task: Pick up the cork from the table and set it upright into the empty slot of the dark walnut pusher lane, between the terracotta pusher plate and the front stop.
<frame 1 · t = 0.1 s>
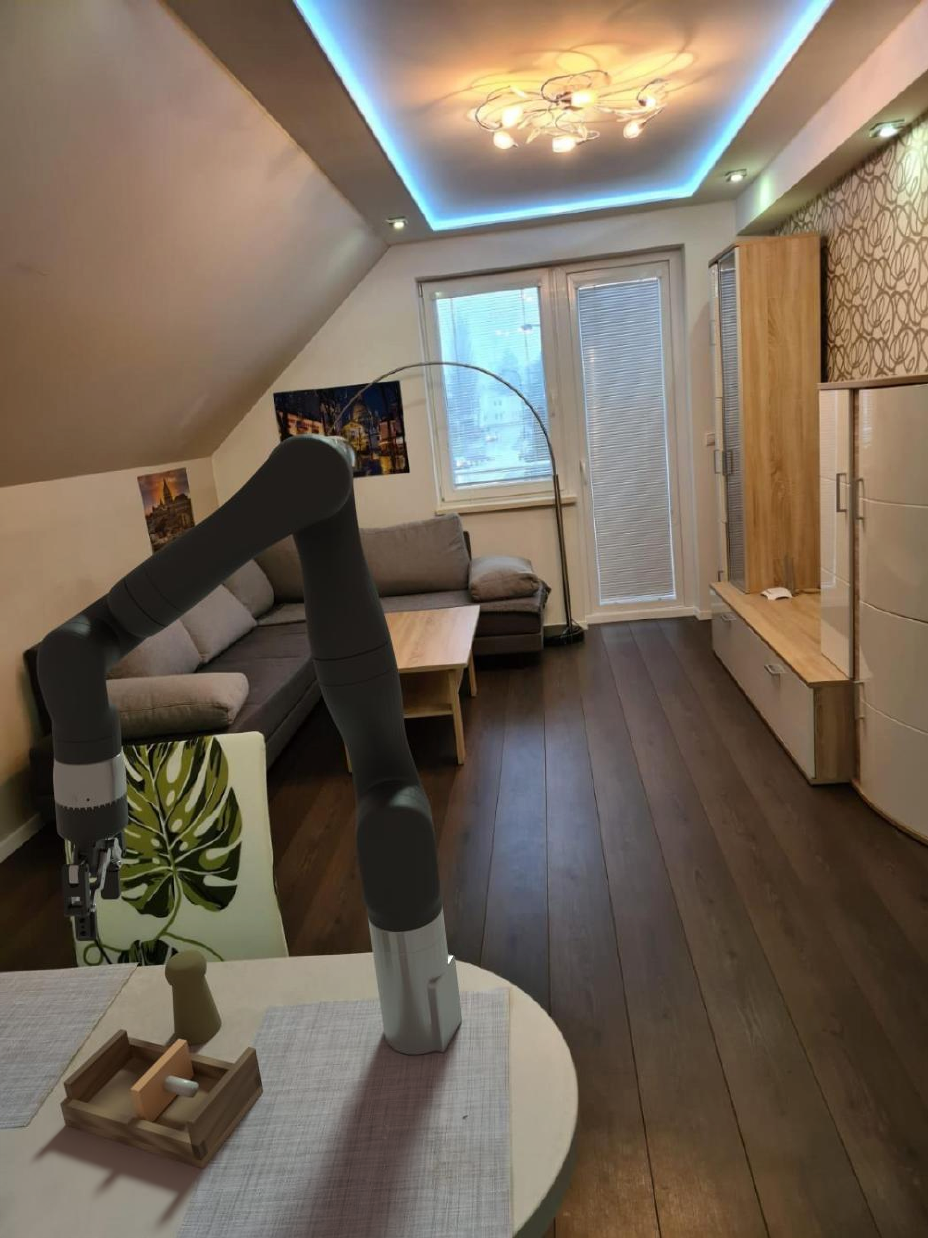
hand: (99, 917, 99), 22 cm above the table, tool pointing down, fingers open, 8 cm apart
lane: (165, 1108, 99), on the table
pusher: (176, 1085, 97), point 4 cm above the table, slide at 0.0 cm
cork: (198, 1030, 112), on the table
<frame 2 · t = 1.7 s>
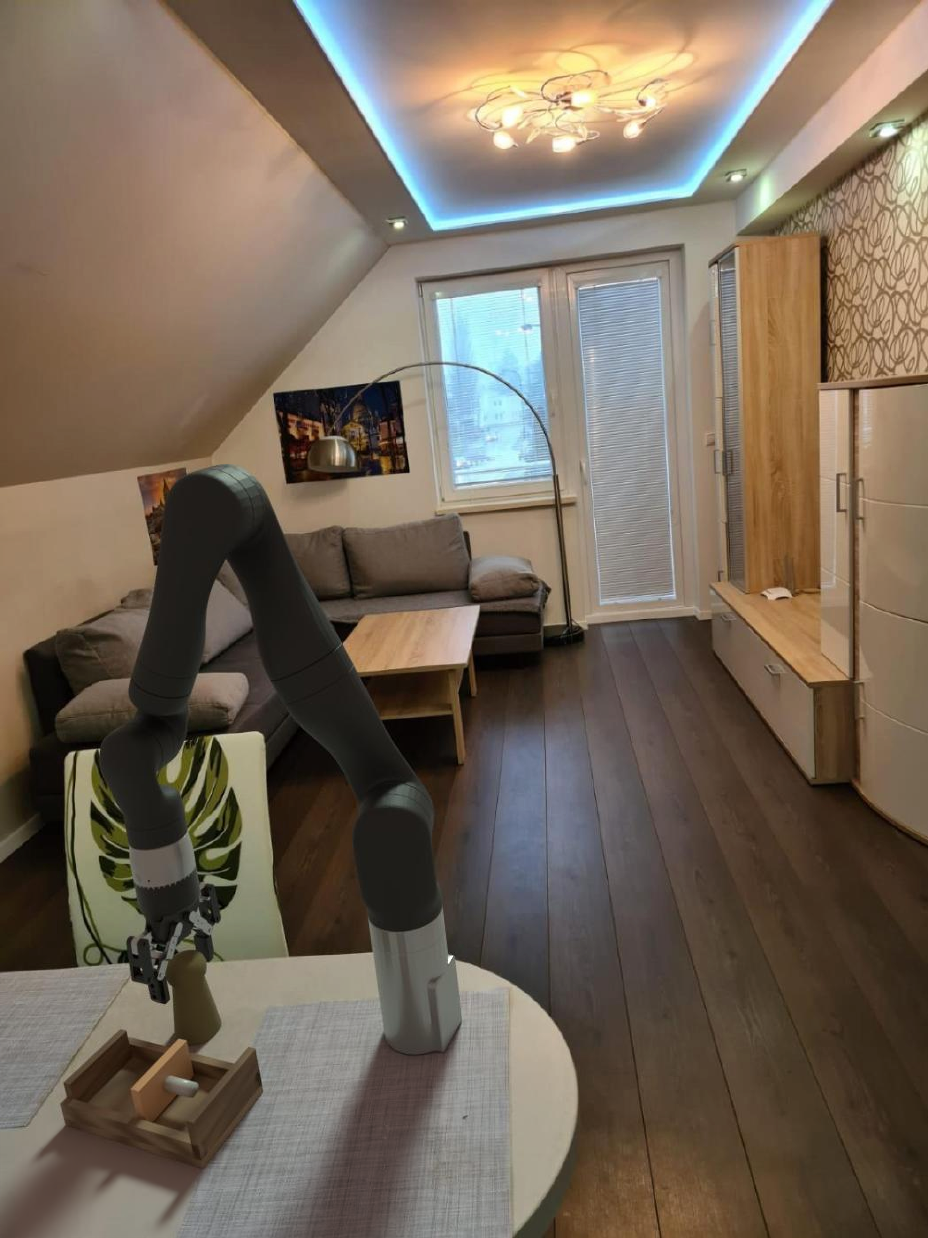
hand: (184, 980, 110), 8 cm above the table, tool pointing down, fingers open, 8 cm apart
nothing on the table moved.
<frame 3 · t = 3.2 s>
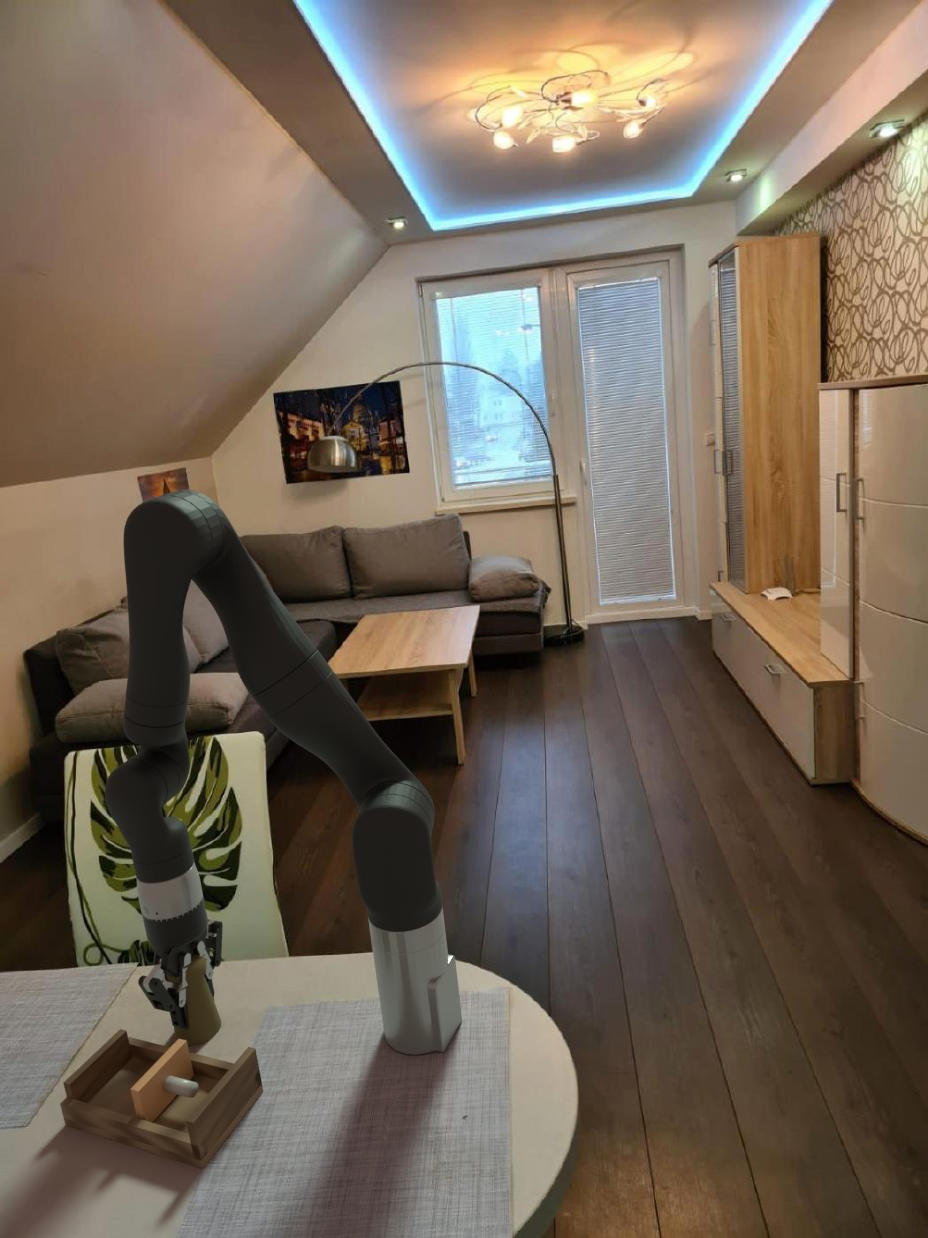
hand: (195, 1014, 111), 2 cm above the table, tool pointing down, fingers closed on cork, 4 cm apart
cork: (198, 1030, 112), on the table, touching gripper
everything else where it was.
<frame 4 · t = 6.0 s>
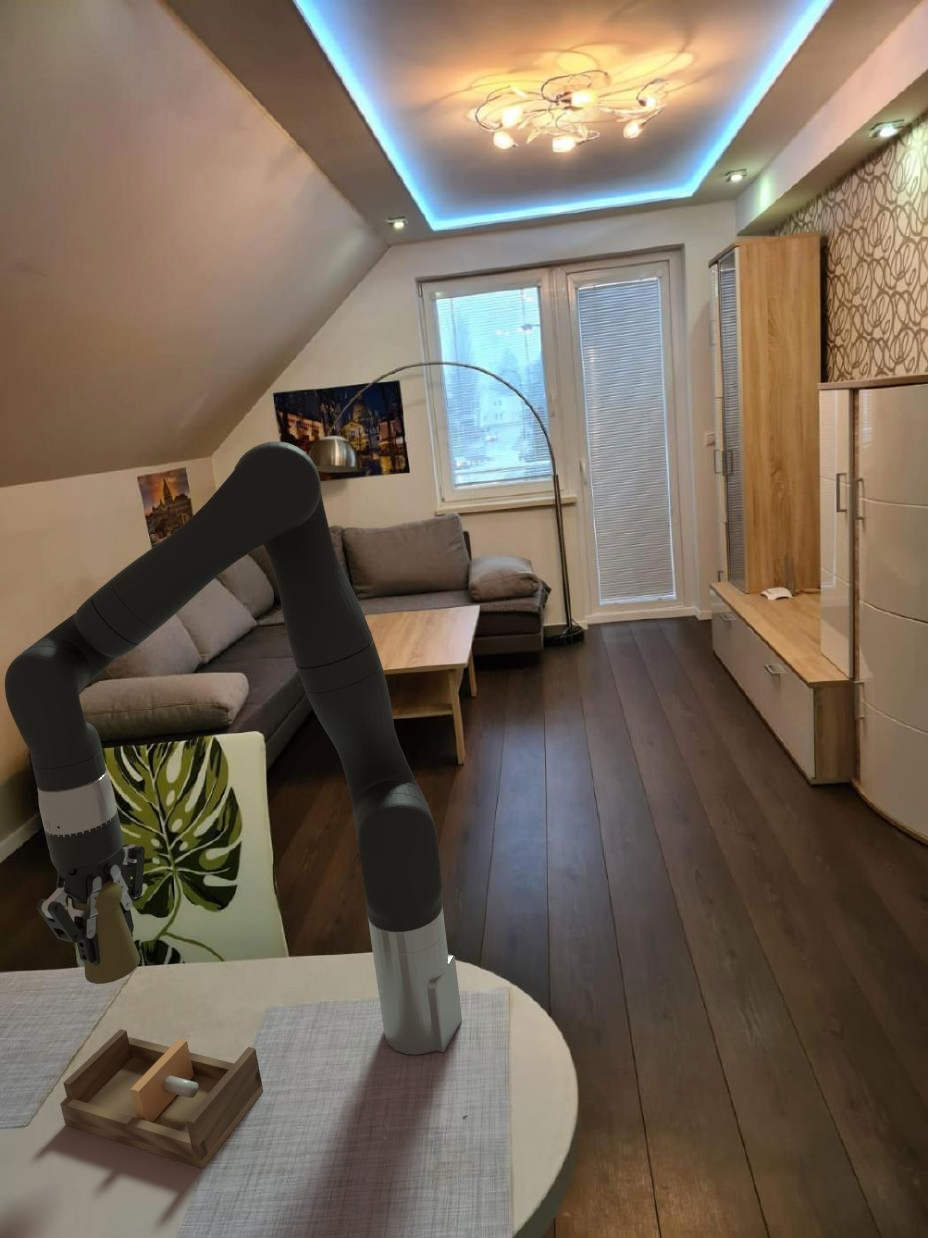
hand: (109, 949, 97), 20 cm above the table, tool pointing down, fingers closed on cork, 4 cm apart
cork: (113, 968, 98), point 17 cm above the table, touching gripper
everything else where it was.
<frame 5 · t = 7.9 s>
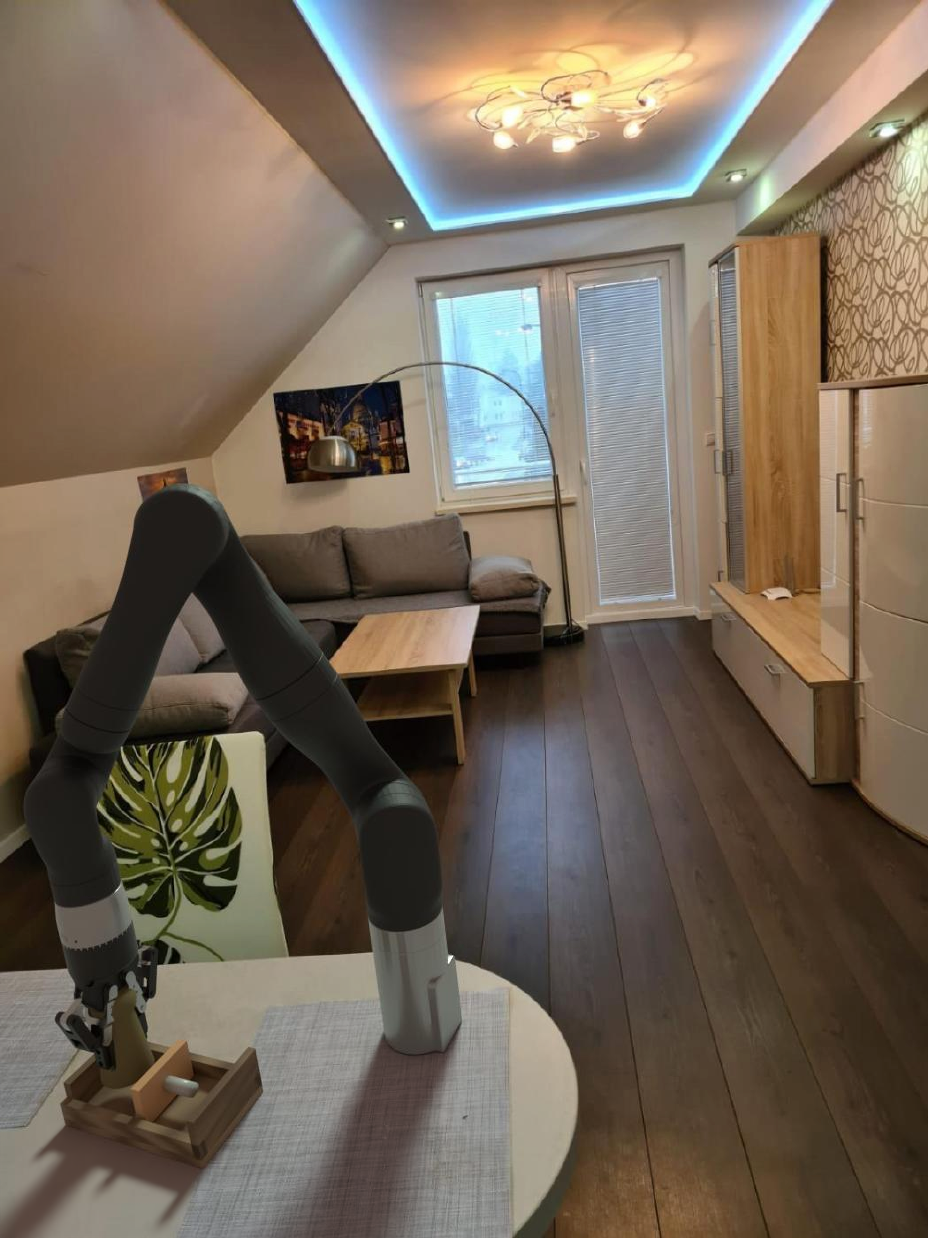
hand: (124, 1053, 99), 7 cm above the table, tool pointing down, fingers closed on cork, 4 cm apart
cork: (128, 1070, 100), point 4 cm above the table, touching gripper
everything else where it was.
when the fingers open (5 cm above the table, at t = 9.1 s): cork drops 1 cm, resting on lane.
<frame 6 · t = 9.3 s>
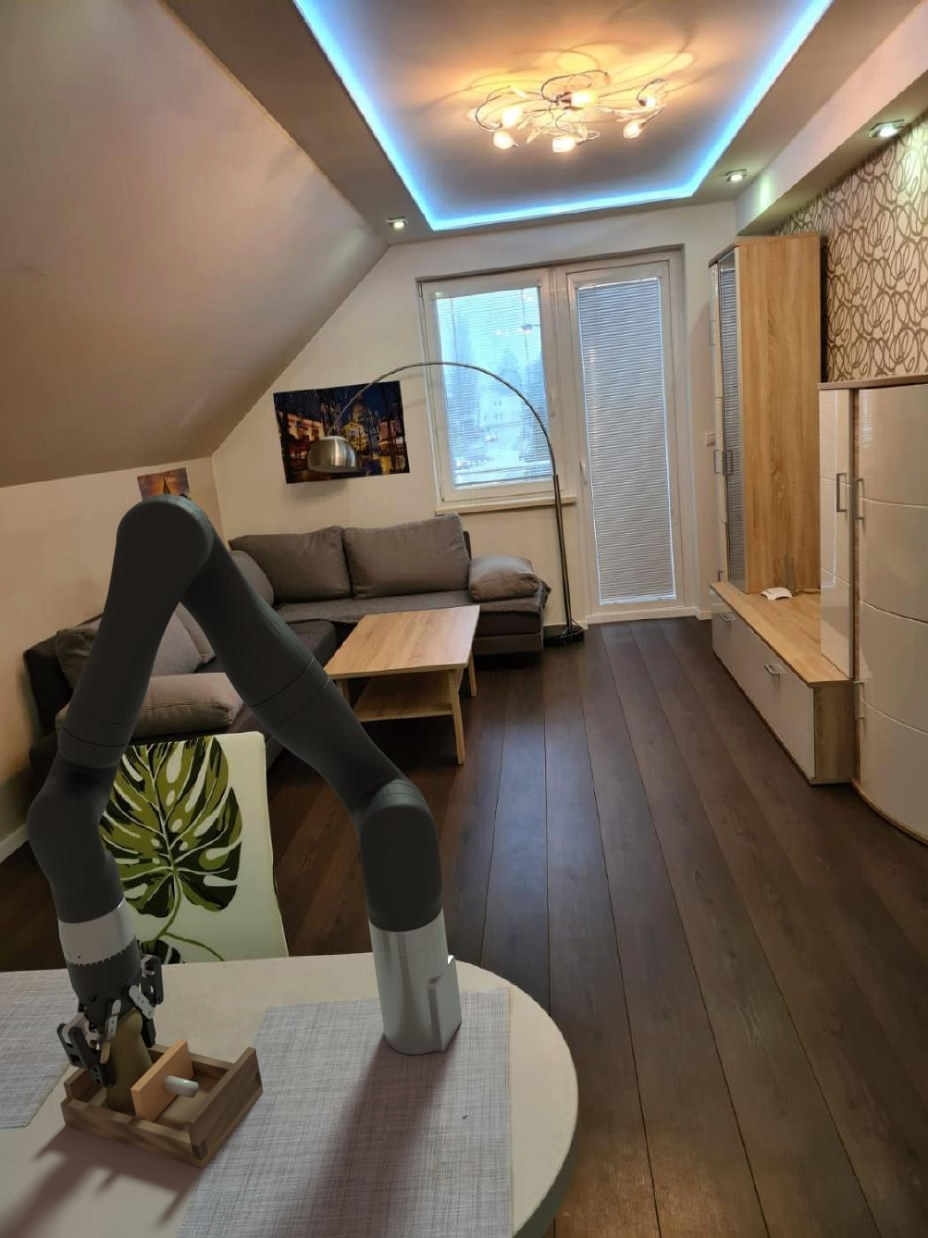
hand: (128, 1064, 99), 5 cm above the table, tool pointing down, fingers open, 6 cm apart
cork: (134, 1094, 100), point 1 cm above the table, touching lane
everything else where it was.
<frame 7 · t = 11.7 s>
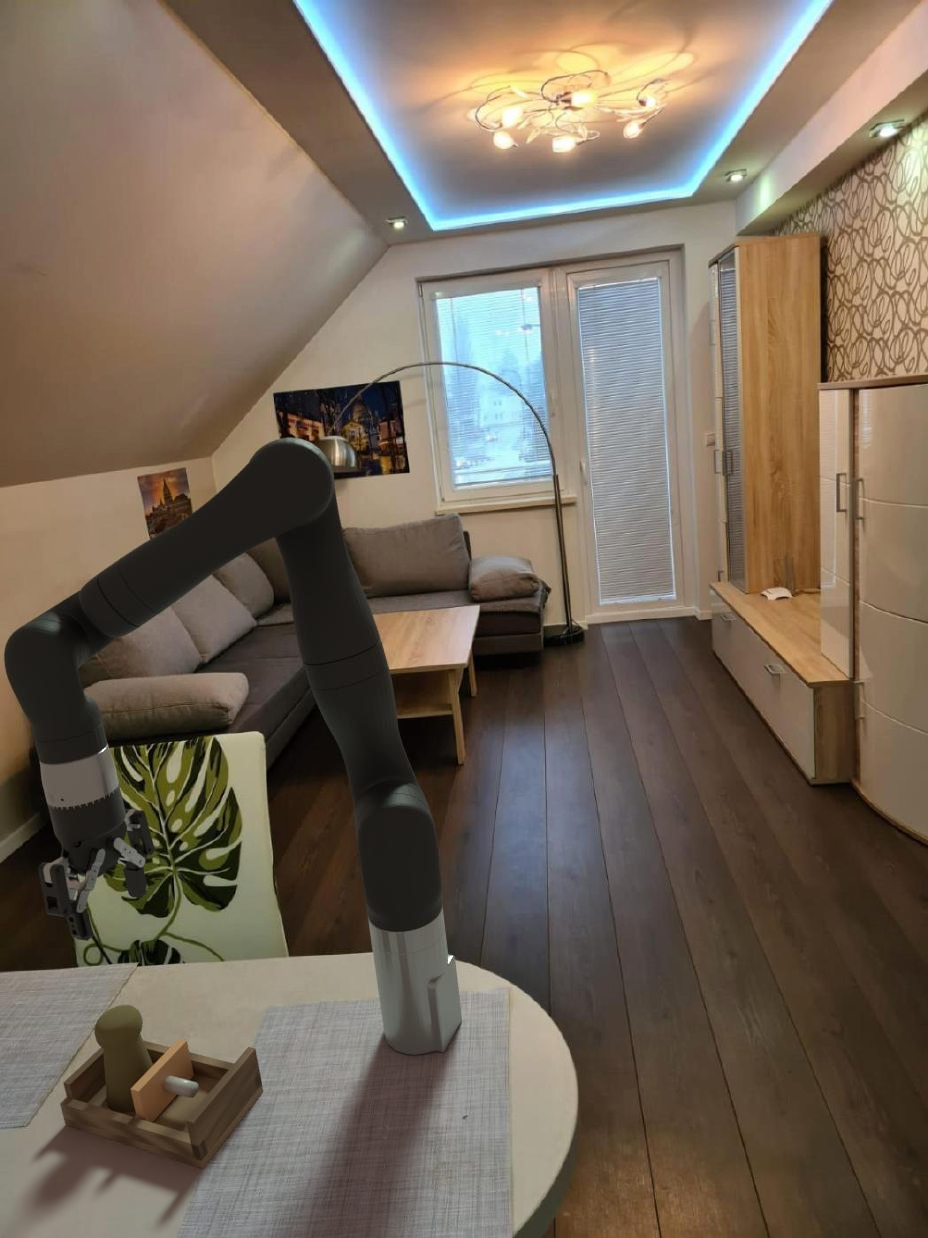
hand: (112, 916, 98), 23 cm above the table, tool pointing down, fingers open, 8 cm apart
nothing on the table moved.
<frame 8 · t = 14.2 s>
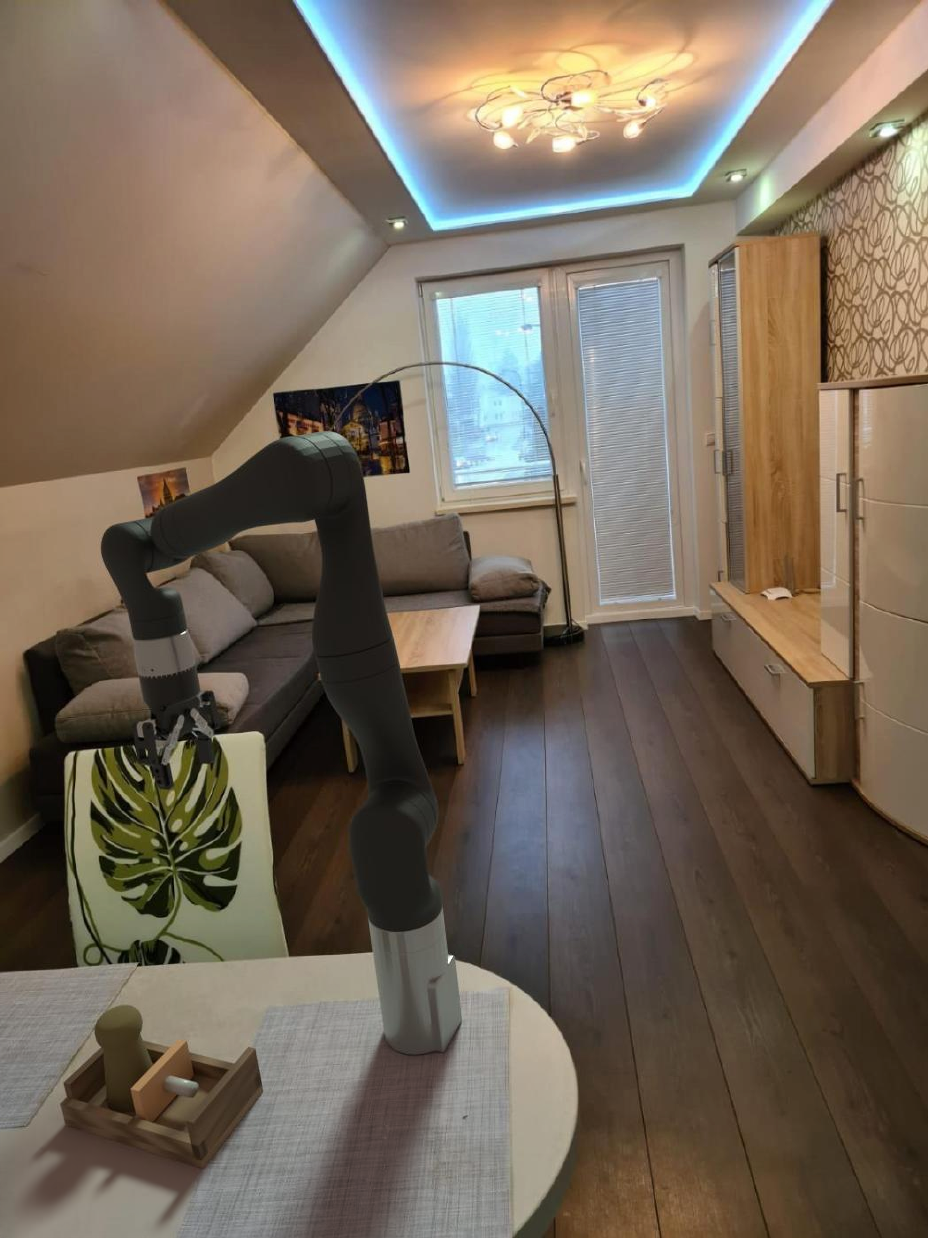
hand: (187, 775, 118), 30 cm above the table, tool pointing down, fingers open, 8 cm apart
nothing on the table moved.
at the end: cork 0.3 cm from the target spot on the lane, point 0.8 cm above the lane's base; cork tilted 0°; the gripper is holding nothing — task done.
